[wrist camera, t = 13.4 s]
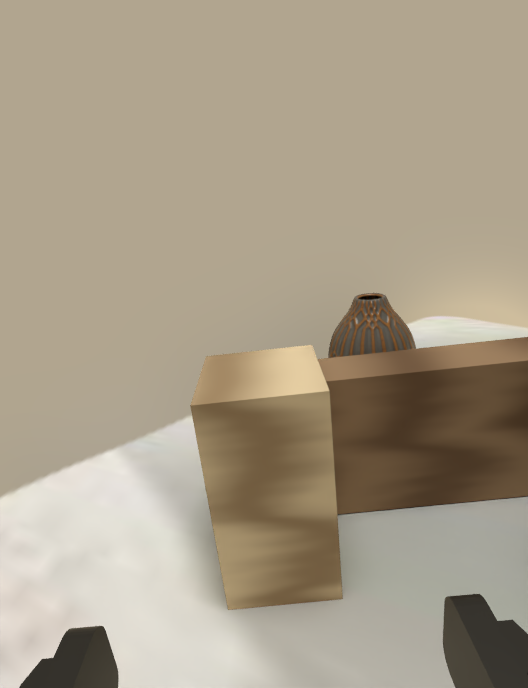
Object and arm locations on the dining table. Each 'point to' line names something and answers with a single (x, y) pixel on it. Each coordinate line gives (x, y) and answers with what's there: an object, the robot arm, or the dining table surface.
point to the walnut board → (429, 425)
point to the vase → (370, 329)
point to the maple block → (270, 475)
